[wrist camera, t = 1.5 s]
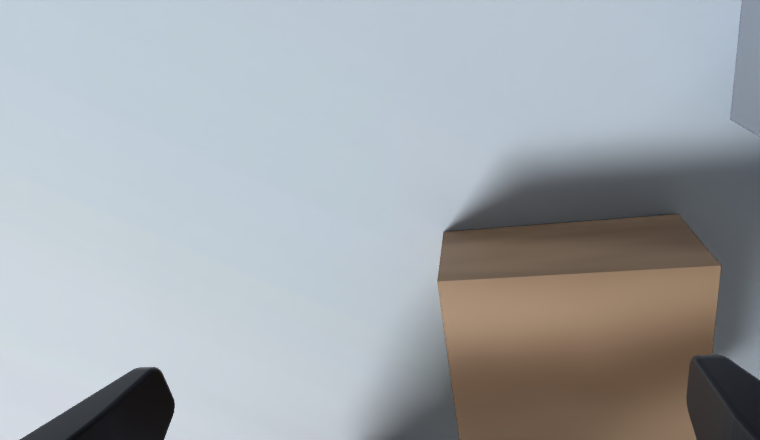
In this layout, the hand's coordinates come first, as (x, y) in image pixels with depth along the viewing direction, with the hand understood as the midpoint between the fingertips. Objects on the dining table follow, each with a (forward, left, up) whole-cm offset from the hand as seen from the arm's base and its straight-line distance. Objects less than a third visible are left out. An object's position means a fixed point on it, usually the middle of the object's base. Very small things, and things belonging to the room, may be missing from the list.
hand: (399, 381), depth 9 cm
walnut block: (-8, -4, -13) cm, 16 cm away
